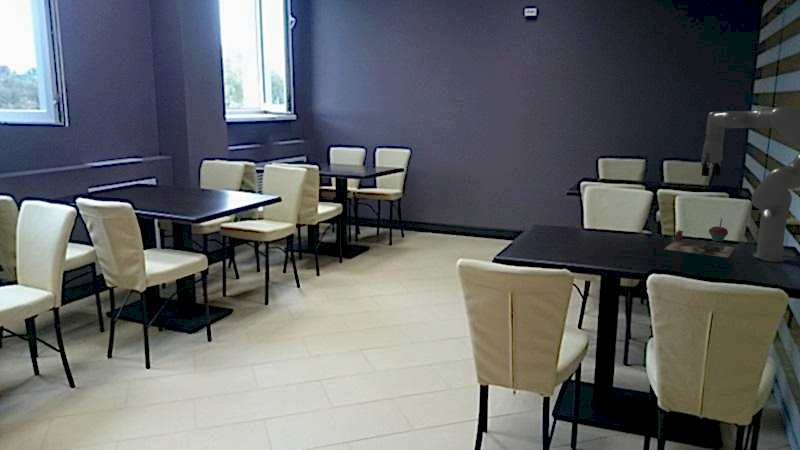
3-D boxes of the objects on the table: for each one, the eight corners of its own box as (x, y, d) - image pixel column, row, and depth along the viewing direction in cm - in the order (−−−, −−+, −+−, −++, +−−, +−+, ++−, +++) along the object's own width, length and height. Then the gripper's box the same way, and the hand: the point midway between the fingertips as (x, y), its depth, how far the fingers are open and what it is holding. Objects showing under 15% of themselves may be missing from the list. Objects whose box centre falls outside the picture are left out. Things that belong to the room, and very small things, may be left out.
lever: (724, 251, 271) (726, 238, 270) (719, 252, 268) (720, 239, 267) (678, 242, 289) (679, 229, 288) (672, 243, 286) (673, 230, 285)
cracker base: (735, 250, 279) (736, 242, 279) (727, 260, 260) (728, 252, 259) (674, 242, 294) (675, 235, 293) (663, 251, 275) (664, 244, 274)
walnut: (710, 251, 270) (711, 243, 269) (709, 253, 266) (710, 244, 266) (701, 250, 272) (702, 242, 271) (699, 252, 269) (700, 243, 268)
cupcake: (730, 242, 295) (733, 218, 293) (712, 242, 295) (715, 218, 293) (721, 239, 304) (724, 215, 301) (704, 238, 304) (707, 215, 301)
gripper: (716, 138, 289) (712, 173, 292) (696, 138, 279) (692, 175, 282) (732, 138, 283) (728, 175, 286) (712, 139, 273) (708, 177, 276)
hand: (710, 175), depth 284 cm, fingers open, 9 cm apart
